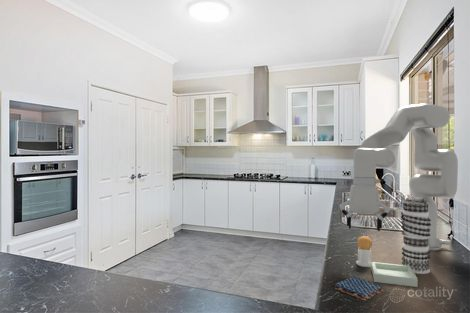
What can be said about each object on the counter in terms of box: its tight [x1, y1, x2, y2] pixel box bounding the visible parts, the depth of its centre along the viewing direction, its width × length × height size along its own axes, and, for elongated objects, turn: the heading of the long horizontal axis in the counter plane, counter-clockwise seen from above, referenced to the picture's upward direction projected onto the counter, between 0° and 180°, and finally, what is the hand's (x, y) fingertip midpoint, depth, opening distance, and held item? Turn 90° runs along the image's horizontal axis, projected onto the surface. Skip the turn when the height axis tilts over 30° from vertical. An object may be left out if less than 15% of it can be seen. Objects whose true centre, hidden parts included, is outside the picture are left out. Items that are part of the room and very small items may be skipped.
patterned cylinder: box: [400, 196, 431, 275], centre depth 110 cm, size 9×9×25 cm
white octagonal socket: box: [355, 246, 372, 268], centre depth 115 cm, size 6×6×6 cm
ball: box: [357, 235, 373, 250], centre depth 115 cm, size 5×5×5 cm
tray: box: [370, 261, 419, 288], centre depth 103 cm, size 12×12×2 cm
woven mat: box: [334, 276, 384, 301], centre depth 93 cm, size 10×11×2 cm
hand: (363, 229), depth 115 cm, fingers open, 9 cm apart
